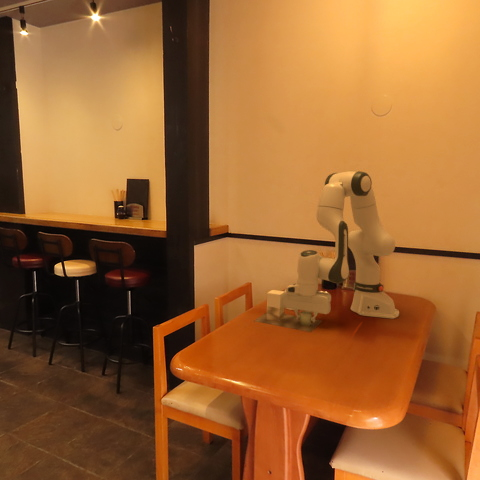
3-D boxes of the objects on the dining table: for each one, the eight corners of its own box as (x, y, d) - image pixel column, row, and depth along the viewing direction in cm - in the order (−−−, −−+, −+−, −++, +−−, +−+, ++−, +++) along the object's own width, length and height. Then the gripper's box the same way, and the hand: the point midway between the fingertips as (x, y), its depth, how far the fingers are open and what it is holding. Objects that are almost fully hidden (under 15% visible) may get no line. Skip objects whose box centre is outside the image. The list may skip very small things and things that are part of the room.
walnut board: (322, 323, 183) (322, 320, 183) (311, 335, 169) (311, 332, 169) (267, 314, 195) (268, 311, 195) (253, 324, 181) (253, 321, 181)
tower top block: (284, 304, 185) (285, 291, 184) (279, 308, 180) (280, 294, 179) (272, 302, 188) (272, 289, 187) (266, 306, 182) (267, 292, 182)
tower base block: (284, 317, 186) (284, 304, 185) (279, 321, 181) (279, 308, 180) (271, 315, 189) (272, 302, 188) (266, 319, 183) (266, 306, 182)
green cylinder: (312, 323, 179) (313, 312, 179) (309, 326, 175) (309, 315, 174) (302, 321, 182) (302, 310, 181) (298, 324, 177) (298, 313, 177)
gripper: (333, 290, 174) (331, 322, 176) (287, 284, 183) (286, 314, 185) (329, 294, 169) (327, 326, 171) (282, 287, 178) (281, 318, 180)
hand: (305, 320), depth 178 cm, fingers closed on green cylinder, 5 cm apart
